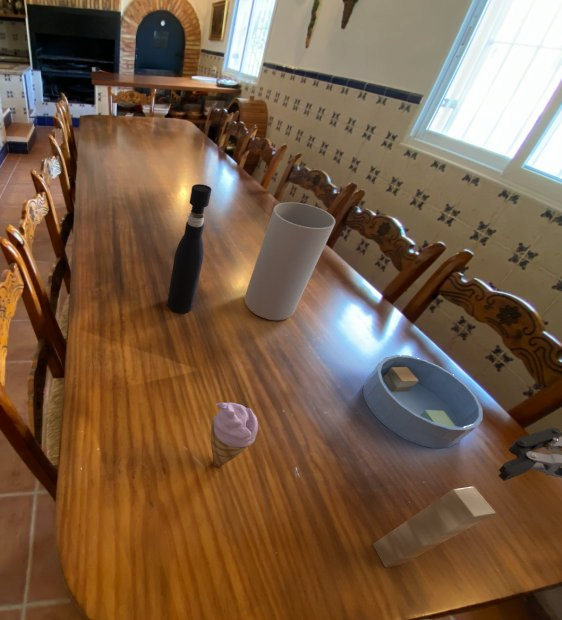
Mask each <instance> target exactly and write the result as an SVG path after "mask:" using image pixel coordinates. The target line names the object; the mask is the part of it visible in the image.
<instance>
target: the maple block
mask: <svg viewBox="0 0 562 620" xmlns="http://www.w3.org/2000/svg"><path fill="white" fill-rule="evenodd" d="M383 379H384V381H385V382H386V383H387V384H388V386H389V387H390V388H391V390H392V391H393V392H404V391H410V389H411V388H412V387H413V386H414V385H415V384H416V383H417V382H418V381H419V380H418V379H417V378H416V377H415V376H414V375H413V373H412V372H411V371H410V370H409V369H408V367H391V369H390V370H389V371H388V372H387V373H386V375H385V376H384V377H383Z"/></svg>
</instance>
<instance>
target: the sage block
mask: <svg viewBox="0 0 562 620" xmlns="http://www.w3.org/2000/svg"><path fill="white" fill-rule="evenodd" d="M420 416H422V417H424V418H426V419H428V420H430V421H432V422H435V423H438V424H442V425H445V426H449V427H456V426H455V425H454V424H453V422H452V421H451V420H450V419H449V417H448V416H447V415H446V413H445V412H444V411H433V410H425V411H424V412H423V413H422V414H421V415H420Z"/></svg>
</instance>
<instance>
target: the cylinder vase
mask: <svg viewBox="0 0 562 620" xmlns="http://www.w3.org/2000/svg"><path fill="white" fill-rule="evenodd" d="M335 225H336V218H335V217H334V216H333V215H332V214H331V213H330V212H328V211H326V210H324V209H322V208H320V207H317V206H314V205H310V204H307V203H301V202H296V201H295V202H294V201H293V202H292V201H291V202H290V201H289V202H280V203H278V204H276V205H275V206H274V207H273V210H272V213H271V216H270V219H269V222H268V225H267V228H266V231H265V235H264V237H263V240H262V243H261V246H260V248H259V252H258V255H257V259H256V261H255V264H254V267H253V270H252V273H251V276H250V279H249V283H248V285H247V288H246V291H245V293H244V299H243V301H244V303H245V305H246V308H247V309H248V310H250V312H252V313H253V314H254V315H256V316H258V317H260V318H263V319H265V320H270V321H284V320H287V319H289V318H291V317H292V316H293V315H294V314H295V311H296V309H297V307H298V305H299V303H300V301H301V299H302V296H303V294H304V292H305V290H306V287H307V286H308V283H309V281H310V279H311V277H312V275H313V273H314V270H315V269H316V266H317V264H318V261H319V259H320V257H321V255H322V253H323V251H324V248H325V246H326V244H327V243H328V240H329V238H330V236H331V234H332V232H333V229H334V227H335Z"/></svg>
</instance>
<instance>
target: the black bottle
mask: <svg viewBox="0 0 562 620" xmlns="http://www.w3.org/2000/svg"><path fill="white" fill-rule="evenodd" d="M211 194H212V187H211V186H209V185H207V184H203V183H197V184H193V185H192V186H191V190H190V197H189V202H188V203H189V205H191V210H190V213H189V214H188V216H187V221H186V223H185V229H184V234H183V235H182V237H181V239H180V240H179V242H178V244H177V247H176V250H175V253H174V257H173V262H172V263H173V264H172V271H171V277H170V283H169V289H168V296H167V301H166V302H167V303H166V305H167V308H168V309H169V310H170V311H171V312H173V313H175V314H179V315H180V314H182V315H183V314H188V313H189V312H191V311H192V310H193V307H194V303H195V298H196V294H197V288H198V284H199V280H200V275H201V271H202V268H203V267H202V266H203V262H204V242H203V232H204V227H205V224H204V222H205V215H204V214H205V213H204V212H205V208H206V207H207V208H208V207H209V204H210V198H211Z"/></svg>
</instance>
